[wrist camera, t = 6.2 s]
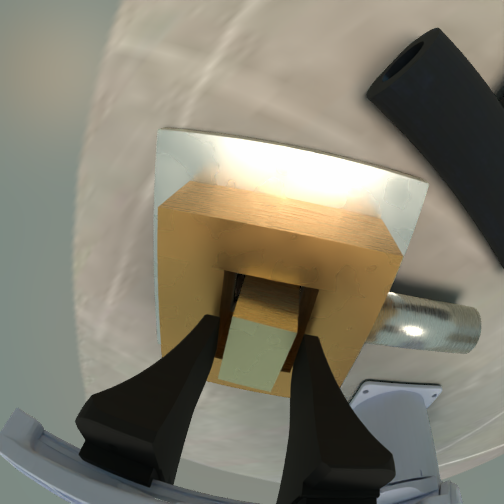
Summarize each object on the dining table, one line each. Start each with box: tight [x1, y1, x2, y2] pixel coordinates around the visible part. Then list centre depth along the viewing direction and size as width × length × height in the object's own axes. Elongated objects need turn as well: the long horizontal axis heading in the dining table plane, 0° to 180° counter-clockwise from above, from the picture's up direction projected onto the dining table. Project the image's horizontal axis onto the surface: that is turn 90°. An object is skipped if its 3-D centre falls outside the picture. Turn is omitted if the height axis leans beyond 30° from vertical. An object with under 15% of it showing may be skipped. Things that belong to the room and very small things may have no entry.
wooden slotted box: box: [154, 127, 481, 398], centre depth 16 cm, size 15×20×5 cm
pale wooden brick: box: [218, 275, 300, 392], centre depth 15 cm, size 4×2×7 cm, turn 168°
